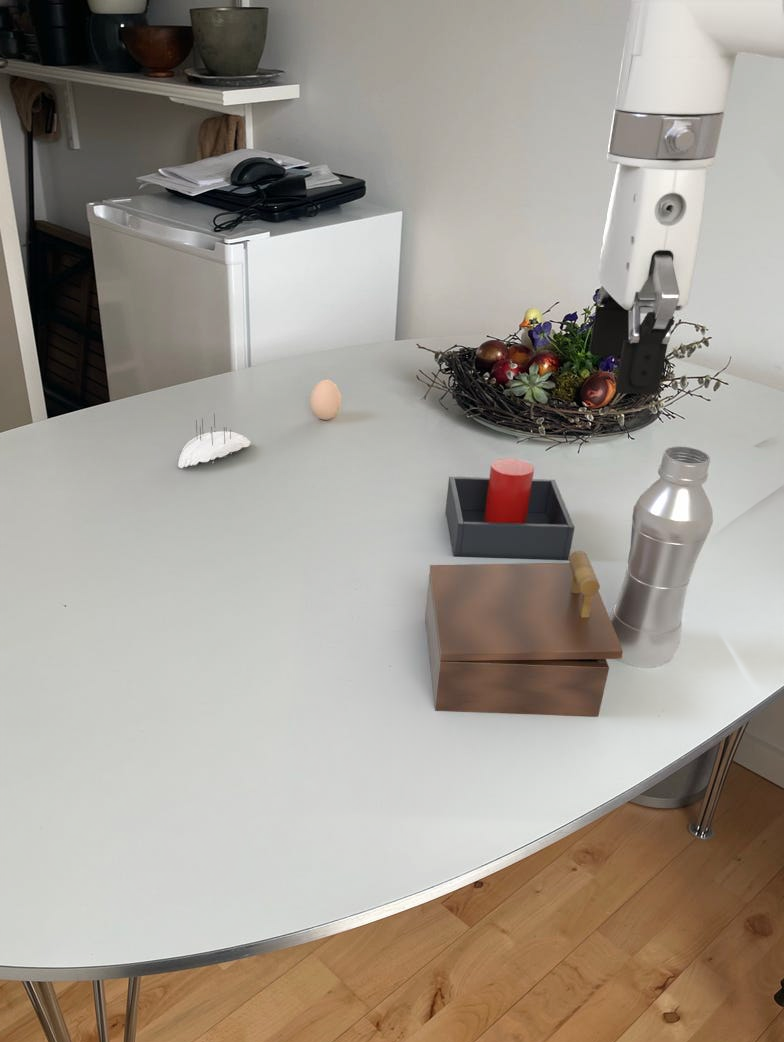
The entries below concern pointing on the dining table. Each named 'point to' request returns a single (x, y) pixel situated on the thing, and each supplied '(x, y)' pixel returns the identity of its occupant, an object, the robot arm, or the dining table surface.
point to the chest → (514, 682)
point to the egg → (325, 400)
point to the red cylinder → (508, 491)
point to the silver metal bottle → (662, 558)
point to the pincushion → (211, 446)
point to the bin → (533, 540)
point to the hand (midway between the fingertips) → (621, 372)
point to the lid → (522, 612)
